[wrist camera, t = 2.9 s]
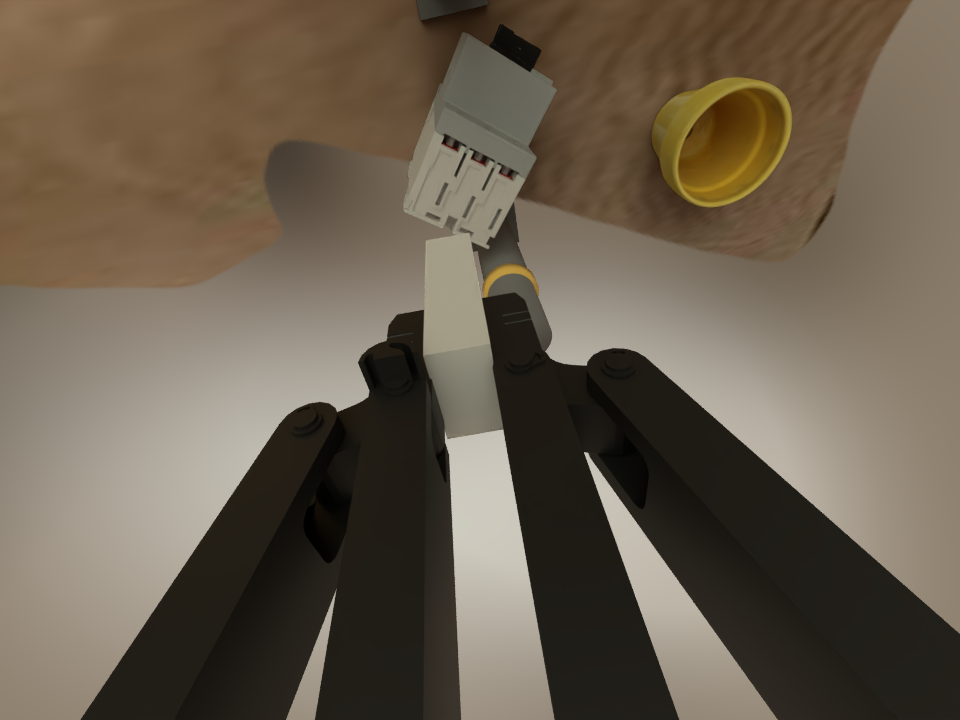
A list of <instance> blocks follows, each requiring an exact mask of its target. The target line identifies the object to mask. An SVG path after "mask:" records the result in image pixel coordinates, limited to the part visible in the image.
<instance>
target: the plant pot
mask: <svg viewBox="0 0 960 720" xmlns="http://www.w3.org/2000/svg"><path fill="white" fill-rule="evenodd" d="M791 128H792V114H791V109H790V105H789V102H788V100H787V98H786V97H785V95H784V94H783V93H782V92H781V91H780V90H779V89H778V88H777V87H775V86H773V85H772V84H769V83H767V82H763V81H759V80H754V79H748V78H737V77H733V78H726V79H721V80H718V81H715V82H713V83H711V84H709V85H707V86H705V87H704V88H702V89H698V90H693V91H687V92H684V93H681V94H679V95H677V96H675V97H673V98H672V99H671V100H669V101H668V102H667V103H666V104H665V105H664V106H663V108H662V109H661V110H660V112H659V113H658V115H657V117H656V119H655V121H654V124H653V127H652V133H651V140H652V145H653V148H654V150H655V152H656V154H657V155H658V157H659V159H660V166H661V171H662V174H663V177H664V179H665V180H666V182H667V184H668V185H669V186H670V187H671V188H672V189H673V190H674V191H675V192H676V193H677V194H678V195H680V196H681V197H682V198H684V199H685V200H687V201H688V202H690V203H692V204H694V205H697V206H701V207H720V206H724V205H728V204H731V203H733V202H735V201H738V200H740V199H741V198H743V197H745V196H746V195H748V194H750V193H751V192H752V191H754V190H755V189H756V188H757V187H758V186H760V185H761V184H762V183H763V182H764V181H765V180H766V179H767V178H768V177H769V175H770V174H771V173H772V172H773V170H774V169H775V168H776V166H777V164H778V163H779V161H780V160H781V158H782V156H783V154H784V152H785V150H786V147H787V144H788V141H789V138H790V134H791Z"/></svg>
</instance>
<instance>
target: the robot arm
mask: <svg viewBox="0 0 960 720" xmlns="http://www.w3.org/2000/svg"><path fill="white" fill-rule="evenodd" d="M425 257H426V258H425V259H426V260H425V297H424V310H420V311H415V312H410V313H404V314H398V315H397V316H396V317H395V318H394V320H393V321H392V322H391V324H389V327H388V334H387V337H388V338H387V341H385V342H381V343H379V344H377V345H375V346H373V347H371V348H369V349H368V350H367V351H366V352H365V353H364V354H363V355H362V356H361V358H360V360H359V362H358V364H359V366H360V369H361V371H362V373H363V376H364V378H365V381H366V383H367V385H368V388H369V390H370V391H369V397H368V398H366V399H365V400H364V401H362V402H360V403H358V404H356V405H354V406H351V407H349V408H346V409H344V410H341V411H339V412H337V411H336V409H335V407H333V406H332V405H330V404H329V403H323V402H317V403H310V404H307V405H304V406H302V407H300V408H298V409H296V410H294V411H293V412H291V413H290V414H288V415H287V416H286V417H285V418H284V420H283V421H282V422H281V423H280V424H279V426H278V427H277V429H276V430H275V431H274V433H273V434H272V436H271V438H270V439H269V441H268V442H267V443H266V445H265V446H264V448H263V449H262V451H261V452H260V454H259V455H258V457H257V459H256V460H255V461H254V463H253V464H252V466H251V467H250V469H249V470H248V472H247V473H246V475H245V476H244V478H243V479H242V481H241V482H240V484H239V485H238V486H237V488H236V490H235V491H234V493H233V494H232V495H231V497H230V498H229V500H228V501H227V503H226V504H225V506H224V507H223V509H222V510H221V512H220V513H219V515H218V516H217V518H216V519H215V521H214V522H213V524H212V525H211V527H210V528H209V530H208V531H207V533H206V534H205V536H204V537H203V539H202V540H201V541H200V543H199V545H198V546H197V547H196V549H195V550H194V552H193V554H192V555H191V556H190V558H189V559H188V561H187V562H186V564H185V565H184V567H183V568H182V570H181V571H180V573H179V574H178V576H177V577H176V579H175V580H174V582H173V583H172V585H171V586H170V588H169V589H168V591H167V592H166V594H165V595H164V597H163V598H162V600H161V601H160V602H159V604H158V605H157V607H156V608H155V610H154V612H153V613H152V614H151V616H150V617H149V619H148V620H147V622H146V623H145V625H144V626H143V628H142V629H141V631H140V632H139V634H138V635H137V637H136V638H135V640H134V641H133V643H132V644H131V646H130V647H129V649H128V650H127V651H126V653H125V655H124V656H123V657H122V659H121V661H120V662H119V663H118V665H117V666H116V668H115V669H114V671H113V672H112V674H111V675H110V677H109V678H108V680H107V681H106V683H105V684H104V686H103V687H102V689H101V690H100V692H99V693H98V695H97V696H96V698H95V699H94V701H93V702H92V704H91V705H90V706H89V708H88V709H87V711H86V712H85V714H84V715H83V717H82V718H81V720H286V718H287V715H288V713H289V710H290V708H291V705H292V703H293V700H294V697H295V695H296V692H297V690H298V687H299V684H300V682H301V679H302V676H303V674H304V671H305V669H306V666H307V664H308V661H309V658H310V656H311V653H312V651H313V648H314V645H315V643H316V640H317V638H318V635H319V632H320V630H321V627H322V625H323V622H324V620H325V617H326V614H327V612H328V609H329V607H330V604H331V601H332V599H333V596H334V594H335V591H336V597H335V603H334V608H333V614H332V621H331V626H330V632H329V638H328V644H327V651H326V657H325V662H324V669H323V674H322V681H321V687H320V693H319V699H318V705H317V711H316V717H315V720H461V711H460V710H461V709H460V686H459V667H458V666H459V664H458V642H457V621H456V598H455V577H454V555H453V533H452V514H451V513H452V512H451V489H450V467H449V454H448V450H447V447H446V444H445V432H446V435H447V438H448V439H450V438H455V437H461V436H467V435H473V434H479V433H484V432H489V431H495V430H501V429H503V430H504V435H505V441H506V447H507V453H508V458H509V464H510V469H511V475H512V481H513V487H514V492H515V498H516V504H517V509H518V515H519V520H520V526H521V532H522V537H523V543H524V549H525V555H526V560H527V566H528V572H529V577H530V583H531V588H532V594H533V599H534V606H535V611H536V617H537V623H538V628H539V634H540V640H541V645H542V650H543V657H544V662H545V668H546V674H547V679H548V685H549V691H550V696H551V702H552V707H553V713H554V719H555V720H679V718H678V715H677V712H676V709H675V707H674V704H673V701H672V698H671V695H670V692H669V690H668V687H667V684H666V681H665V678H664V676H663V673H662V670H661V667H660V665H659V662H658V659H657V656H656V653H655V651H654V648H653V645H652V642H651V639H650V637H649V634H648V631H647V628H646V625H645V622H644V620H643V617H642V614H641V611H640V608H639V606H638V603H637V600H636V597H635V594H634V592H633V589H632V586H631V583H630V580H629V578H628V575H627V572H626V569H625V566H624V564H623V561H622V558H621V555H620V552H619V550H618V547H617V544H616V541H615V538H614V536H613V533H612V530H611V527H610V525H609V522H608V519H607V516H606V513H605V510H604V508H603V505H602V502H601V499H600V496H599V494H598V491H597V488H596V485H595V483H594V480H593V477H592V474H591V471H590V469H589V465H588V463H587V460H586V457H585V454H584V452H588V453H589V455H590V458H591V459H592V461H593V462H594V464H595V465H596V466H597V468H598V469H599V471H600V472H601V473H602V475H603V476H604V477H605V479H606V480H607V482H608V483H609V485H610V486H611V487H612V488H613V490H614V492H615V493H616V494H617V496H618V497H619V499H620V500H621V501H622V503H623V504H624V505H625V507H626V508H627V510H628V511H629V512H630V514H631V515H632V517H633V518H634V519H635V521H636V522H637V524H638V525H639V526H640V528H641V529H642V531H643V532H644V533H645V535H646V536H647V538H648V539H649V540H650V542H651V543H652V544H653V546H654V547H655V549H656V550H657V551H658V553H659V554H660V556H661V557H662V558H663V560H664V561H665V563H666V564H667V565H668V567H669V568H670V570H671V571H672V573H673V574H674V575H675V577H676V578H677V580H678V581H679V582H680V584H681V585H682V586H683V588H684V589H685V591H686V592H687V593H688V595H689V596H690V598H691V599H692V600H693V602H694V603H695V605H696V606H697V607H698V609H699V610H700V612H701V613H702V614H703V616H704V617H705V618H706V620H707V621H708V623H709V624H710V626H711V627H712V628H713V630H714V631H715V633H716V634H717V635H718V637H719V638H720V639H721V641H722V642H723V644H724V645H725V646H726V648H727V649H728V651H729V652H730V654H731V655H732V656H733V658H734V659H735V661H736V662H737V663H738V664H739V666H740V667H741V669H742V670H743V672H744V673H745V674H746V676H747V677H748V679H749V680H750V681H751V683H752V684H753V685H754V687H755V688H756V690H757V691H758V693H759V694H760V695H761V697H762V698H763V700H764V701H765V702H766V704H767V705H768V706H769V708H770V709H771V711H772V712H773V713H774V715H775V716H776V718H777V719H778V720H960V634H959V633H958V632H957V631H956V630H954V629H953V628H952V627H951V626H950V625H949V624H948V623H946V622H945V621H944V620H943V619H942V618H941V617H940V616H939V615H938V614H936V613H935V612H934V611H933V610H932V609H931V608H930V607H928V606H927V605H926V604H925V603H924V602H923V601H922V600H920V599H919V598H918V597H917V596H916V595H915V594H914V593H913V592H911V591H910V590H909V589H908V588H907V587H906V586H905V585H903V584H902V583H901V582H900V581H899V580H898V579H897V578H896V577H894V576H893V575H892V574H891V573H890V572H889V571H888V570H886V569H885V568H884V567H883V566H882V565H881V564H880V563H878V562H877V561H876V560H875V559H874V558H873V557H872V556H871V555H869V554H868V553H867V552H866V551H865V550H864V549H863V548H861V547H860V546H859V545H858V544H857V543H856V542H855V541H853V540H852V539H851V538H850V537H849V536H848V535H847V534H845V533H844V532H843V531H842V530H841V529H840V528H839V527H838V526H836V525H835V524H834V523H833V522H832V521H831V520H829V518H827V517H826V516H825V515H824V514H823V513H822V512H820V511H819V510H818V509H817V508H816V507H815V506H814V505H813V504H811V503H810V502H809V501H808V500H807V499H806V498H805V497H803V496H802V495H801V494H800V493H799V492H798V491H797V490H796V489H794V488H793V487H792V486H791V485H790V484H789V483H788V482H786V481H785V480H784V479H783V478H782V477H781V476H780V475H779V474H777V473H776V472H775V471H774V470H773V469H772V468H771V467H769V466H768V465H767V464H766V463H765V462H764V461H763V460H761V459H760V458H759V457H758V456H757V455H756V454H755V453H754V452H752V451H751V450H750V449H749V448H748V447H747V446H746V445H744V444H743V443H742V442H741V441H740V440H738V438H736V437H735V436H734V435H733V434H732V433H731V432H730V431H729V430H727V429H726V428H725V427H724V426H723V425H722V424H721V423H719V422H718V421H717V420H716V419H715V418H714V417H713V416H712V415H710V414H709V413H708V412H707V411H706V410H704V408H702V407H701V406H700V405H699V404H698V403H697V402H696V401H694V400H693V399H692V398H691V397H690V396H689V395H688V394H687V393H685V392H684V391H683V390H682V389H681V388H680V387H679V386H678V385H676V384H675V383H674V382H673V381H672V380H671V379H669V378H668V377H667V376H666V375H665V374H664V373H662V371H660V370H659V369H658V368H657V367H656V366H655V365H653V364H652V363H651V362H650V361H649V360H648V359H647V358H646V357H644V356H642V355H641V354H639V353H637V352H635V351H631V350H628V349H617V348H612V349H608V350H603V351H600V352H598V353H596V354H594V355H593V356H592V357H591V358H590V359H589V361H588V363H587V366H581V365H580V366H579V365H568V364H562V363H559V362H556V361H554V360H552V359H550V357H549V356H548V355H547V353H546V352H545V351H543V350H542V347H541V345H540V342H539V339H538V336H537V333H536V330H535V327H534V324H533V321H532V320H531V316H530V313H529V310H528V307H527V304H526V301H525V299H523V298H522V297H521V296H519V295H518V294H517V293H515V292H513V293H507V294H502V295H496V296H491V297H485V298H482V297H481V292H480V287H479V282H478V276H477V271H476V265H475V260H474V255H473V249H472V244H471V239H470V233H464V234H459V235H453V236H448V237H442V238H437V239H432V240H426V256H425ZM444 428H445V429H444ZM336 589H337V590H336Z"/></svg>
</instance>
